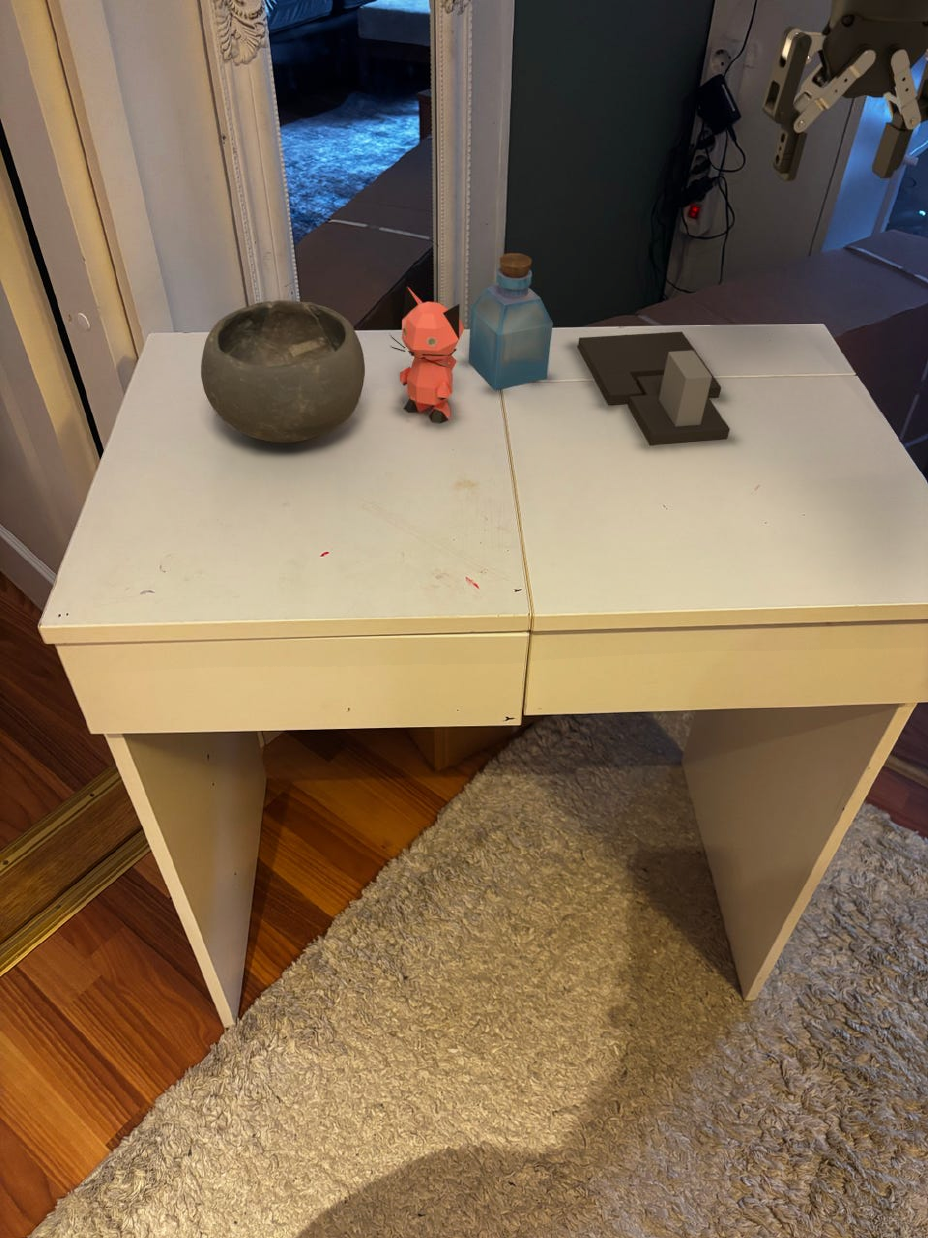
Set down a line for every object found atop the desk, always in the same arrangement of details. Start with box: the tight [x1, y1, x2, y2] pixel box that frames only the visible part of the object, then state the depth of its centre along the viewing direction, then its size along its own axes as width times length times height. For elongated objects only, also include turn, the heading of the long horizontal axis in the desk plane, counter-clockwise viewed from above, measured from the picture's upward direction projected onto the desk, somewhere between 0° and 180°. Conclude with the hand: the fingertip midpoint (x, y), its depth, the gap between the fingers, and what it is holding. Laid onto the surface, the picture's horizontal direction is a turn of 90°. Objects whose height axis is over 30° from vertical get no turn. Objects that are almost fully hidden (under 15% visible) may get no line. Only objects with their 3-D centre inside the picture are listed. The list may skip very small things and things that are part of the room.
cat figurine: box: [388, 285, 465, 424], centre depth 89 cm, size 7×7×12 cm
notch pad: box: [577, 331, 722, 406], centre depth 100 cm, size 12×12×1 cm
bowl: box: [200, 299, 366, 444], centre depth 87 cm, size 15×15×10 cm
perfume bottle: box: [468, 252, 554, 391], centre depth 95 cm, size 6×6×12 cm
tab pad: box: [627, 351, 731, 446], centre depth 92 cm, size 8×11×6 cm
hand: (833, 176), depth 76 cm, fingers open, 8 cm apart
